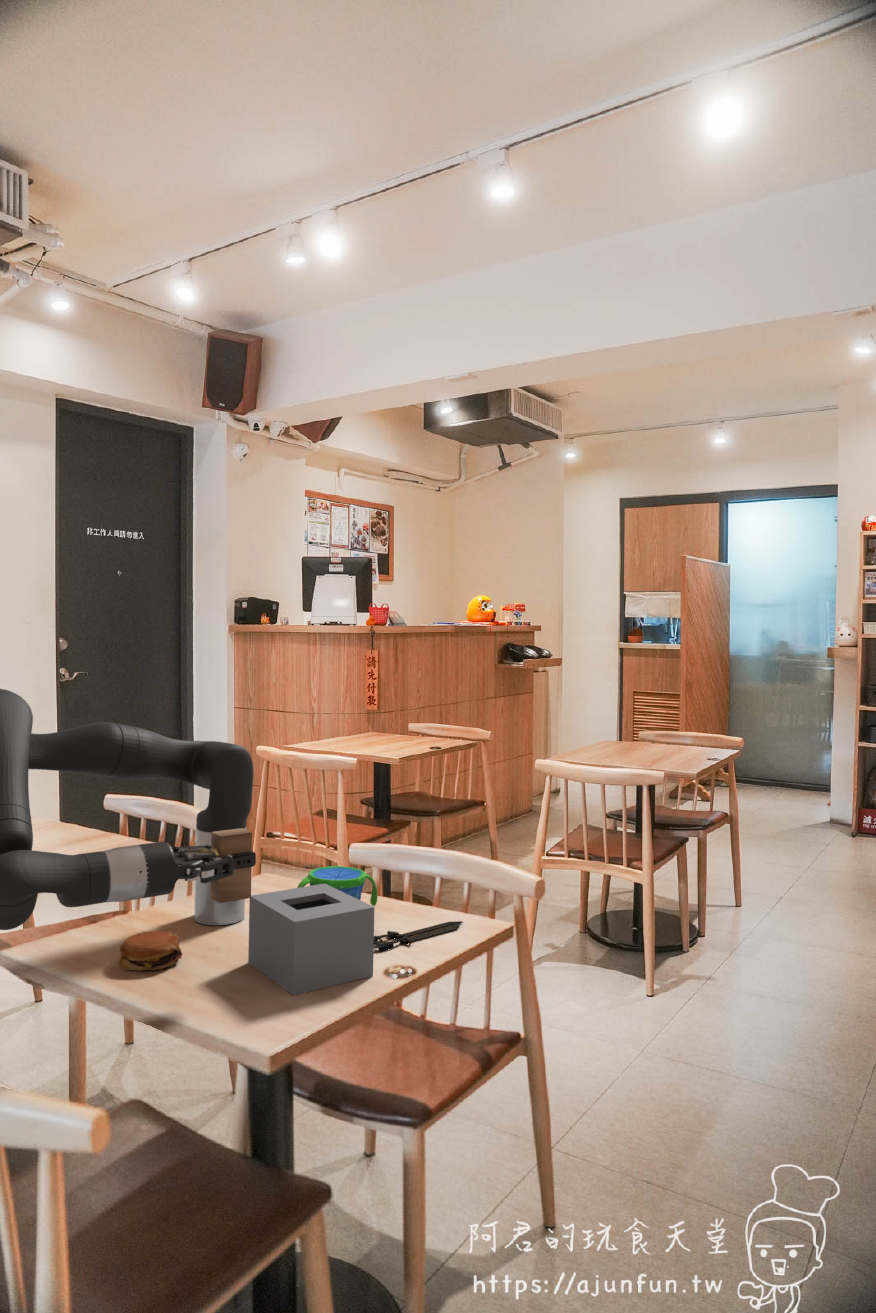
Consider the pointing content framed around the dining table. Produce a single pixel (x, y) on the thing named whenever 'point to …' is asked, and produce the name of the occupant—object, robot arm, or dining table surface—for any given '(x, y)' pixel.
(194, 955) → the dining table surface
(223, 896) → the brown rectangular block
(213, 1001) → the dining table surface
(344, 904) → the tissue box
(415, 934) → the knife
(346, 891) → the snack cup
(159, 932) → the burger
